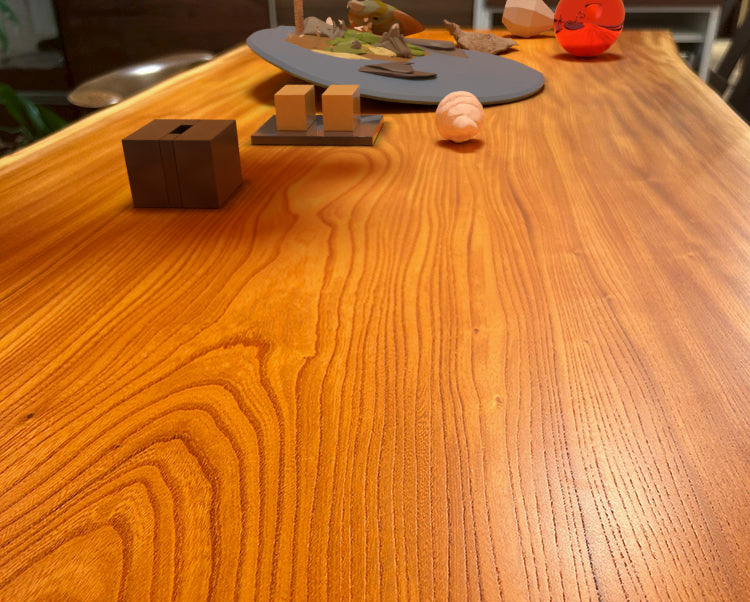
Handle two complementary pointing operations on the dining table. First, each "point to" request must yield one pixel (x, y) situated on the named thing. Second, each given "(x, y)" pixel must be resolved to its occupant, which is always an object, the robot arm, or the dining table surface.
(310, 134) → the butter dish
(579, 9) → the ball
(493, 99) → the serving platter
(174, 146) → the brown slotted box
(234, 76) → the dining table surface
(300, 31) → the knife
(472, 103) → the peach ridged curved piece
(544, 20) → the faceted beige polyhedron
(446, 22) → the coral
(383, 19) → the decorative fish sculpture
